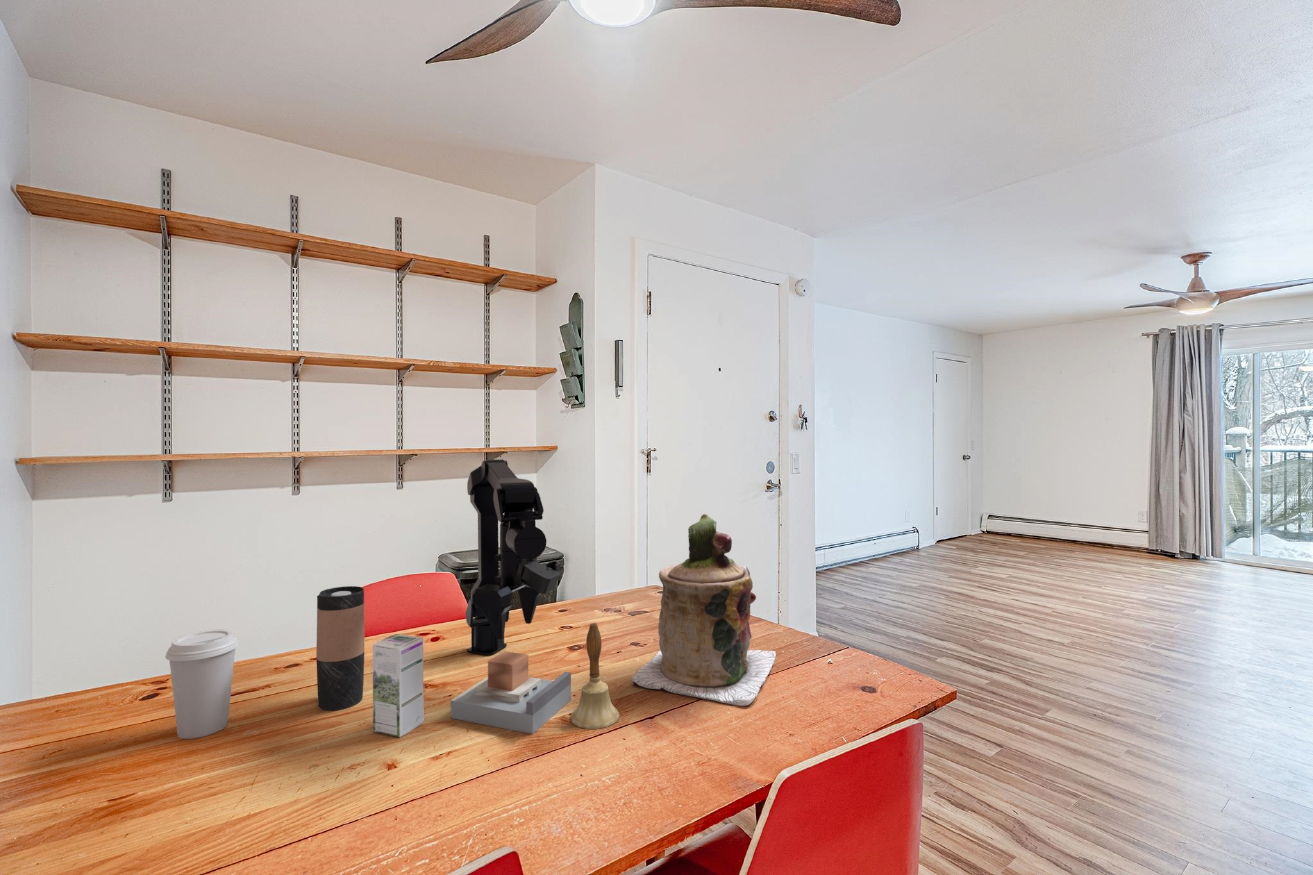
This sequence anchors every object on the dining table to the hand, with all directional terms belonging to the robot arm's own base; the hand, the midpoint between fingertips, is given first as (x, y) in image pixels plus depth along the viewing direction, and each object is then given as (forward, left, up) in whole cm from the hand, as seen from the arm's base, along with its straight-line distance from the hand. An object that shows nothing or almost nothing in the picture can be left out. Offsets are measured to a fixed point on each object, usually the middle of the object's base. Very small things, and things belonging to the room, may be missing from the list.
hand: (514, 631), depth 109 cm
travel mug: (-27, -14, -12) cm, 33 cm away
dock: (+4, -6, -11) cm, 13 cm away
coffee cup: (-40, -29, -12) cm, 51 cm away
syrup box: (-10, -18, -12) cm, 24 cm away
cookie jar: (+32, +21, -12) cm, 40 cm away
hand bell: (+19, -4, -12) cm, 22 cm away
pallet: (+3, -6, -8) cm, 11 cm away
